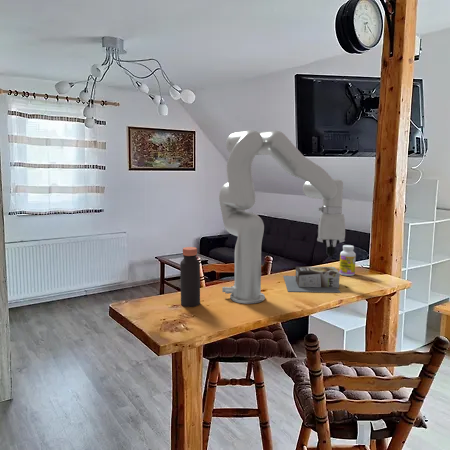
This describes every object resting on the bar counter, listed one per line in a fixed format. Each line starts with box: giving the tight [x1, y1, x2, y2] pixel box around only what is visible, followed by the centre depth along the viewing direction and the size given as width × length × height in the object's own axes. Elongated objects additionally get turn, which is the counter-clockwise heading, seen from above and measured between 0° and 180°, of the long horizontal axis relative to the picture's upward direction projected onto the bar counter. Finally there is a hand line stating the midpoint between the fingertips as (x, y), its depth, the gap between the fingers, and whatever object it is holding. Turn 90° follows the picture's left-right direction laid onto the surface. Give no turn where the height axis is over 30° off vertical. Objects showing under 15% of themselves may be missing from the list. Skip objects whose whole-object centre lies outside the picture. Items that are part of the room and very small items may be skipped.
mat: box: [282, 275, 341, 294], centre depth 173 cm, size 20×22×1 cm
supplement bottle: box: [338, 244, 357, 277], centre depth 187 cm, size 7×7×13 cm
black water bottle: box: [179, 246, 201, 308], centre depth 147 cm, size 7×7×20 cm
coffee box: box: [295, 266, 341, 289], centre depth 171 cm, size 9×6×16 cm
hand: (330, 256), depth 170 cm, fingers closed
